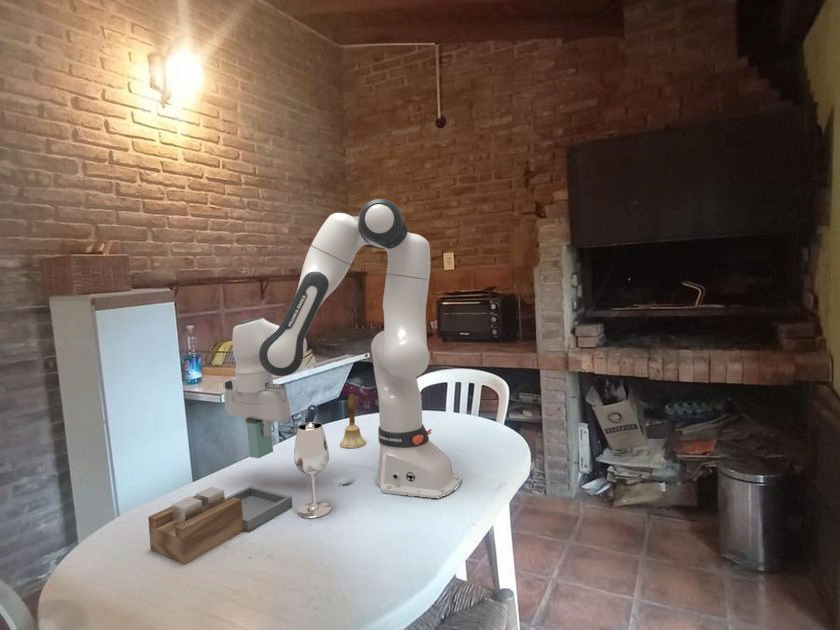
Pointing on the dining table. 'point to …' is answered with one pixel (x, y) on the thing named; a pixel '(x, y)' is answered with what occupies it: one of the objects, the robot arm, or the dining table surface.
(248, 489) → the tray
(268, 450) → the green grey block
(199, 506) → the steel block
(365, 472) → the dining table surface
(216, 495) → the steel block
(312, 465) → the wineglass
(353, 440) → the hand bell
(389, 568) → the dining table surface
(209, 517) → the groove board
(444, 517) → the dining table surface
